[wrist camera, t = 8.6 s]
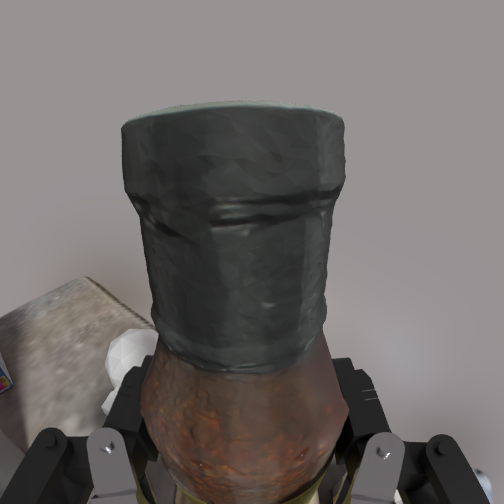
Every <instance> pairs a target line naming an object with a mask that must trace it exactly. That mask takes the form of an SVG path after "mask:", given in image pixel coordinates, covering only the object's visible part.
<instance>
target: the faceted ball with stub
mask: <svg viewBox="0 0 504 504" xmlns="http://www.w3.org/2000/svg"><path fill="white" fill-rule="evenodd" d="M157 339H158V333H157V332H155V331H154V330H151V329H128V330H127V331H126V332H124V333H123V334H122V335H120V336H119V337H117V338H116V339H115V340H113V341H112V342H111V344H110V347H109V351H108V354H107V358H106V362H105V367H106V370H107V372H108V375H109V377H110V380H111V383H112V385H113V388H115V390H114V391H113V392H112V391H111V393H110V394H109V396H108V397H107V399H106V400H105V402H104V403H103V405H102V406H101V408H102V410H103V412H104V414H106V415H107V416H108V414H109V411H110V409H111V407H112V404H113V402H114V399H115V397H116V395H117V392H118V390H119V387H121V383H122V380H123V378H124V376H125V374H126V373H127V372H128V371H129V370H130V369H131V368H132V367H133V366H138V367H141V365H142V362H143V360H144V358H145V356H146V355H154V352H155V349H156V344H157Z"/></svg>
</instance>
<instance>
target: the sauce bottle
mask: <svg viewBox="0 0 504 504" xmlns="http://www.w3.org/2000/svg"><path fill="white" fill-rule="evenodd" d="M344 128H345V127H344V122H343V120H342V118H341V117H340V116H339V115H337V114H336V113H335V112H332V111H330V110H327V109H323V108H317V107H313V106H309V105H296V104H286V103H279V102H275V101H225V102H209V103H200V104H193V105H179V106H174V107H170V108H166V109H162V110H158V111H155V112H151V113H147V114H144V115H140V116H138V117H135V118H133V119H130V120H129V121H127V122H126V123H125V124H124V125H123V126H122V128H121V134H122V170H123V179H124V188H125V192H126V193H127V195H128V197H129V199H130V201H131V202H132V204H133V206H134V208H135V209H136V211H137V213H138V215H139V217H140V225H141V234H142V240H143V246H144V254H145V259H146V265H147V272H148V276H149V284H150V288H151V292H152V298H153V304H152V308H151V317H152V320H153V322H154V324H155V327H156V330H157V332H158V339H157V344H156V349H155V352H154V355H153V357H152V360H151V363H150V365H149V368H148V371H147V374H146V376H145V379H144V382H143V384H142V390H141V400H140V406H141V408H140V413H141V415H142V416H143V418H144V421H145V424H146V427H147V431H148V433H149V435H150V437H151V439H152V441H153V442H154V444H155V446H156V448H157V449H158V451H159V453H160V454H161V456H162V460H163V463H164V465H165V467H166V469H167V471H168V473H169V474H170V476H171V477H172V478H173V480H174V481H175V483H176V484H177V486H178V487H179V488H180V490H181V491H182V492H183V494H184V495H185V496H186V497H187V499H188V500H189V501H190V503H191V504H309V503H310V501H311V499H312V498H313V496H314V494H315V493H316V491H317V489H318V487H319V485H320V483H321V481H322V479H323V477H324V475H325V473H326V471H327V469H328V467H329V465H330V463H331V461H332V459H333V456H334V452H335V449H336V442H337V440H338V438H339V436H340V434H341V431H342V428H343V426H344V422H345V421H346V419H347V416H348V413H349V408H348V406H347V404H346V401H345V400H344V398H343V395H342V392H341V389H340V386H339V382H338V379H337V376H336V372H335V369H334V365H333V362H332V359H331V355H330V352H329V349H328V346H327V342H326V339H325V337H324V334H323V326H322V325H323V323H324V322H325V320H326V314H327V305H326V299H325V296H324V292H325V286H326V279H327V260H328V253H329V245H330V233H331V227H332V215H333V210H334V205H335V202H336V200H337V199H338V197H339V195H340V192H341V189H342V187H343V185H344V181H345V178H346V176H345V156H344V139H343V137H344Z"/></svg>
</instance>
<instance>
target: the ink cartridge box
mask: <svg viewBox="0 0 504 504" xmlns="http://www.w3.org/2000/svg"><path fill="white" fill-rule="evenodd" d="M12 386H13V382H12V380H11V378H10V375H9V373H8V370H7V368H6V365H5V363H4V360H3V357H2V354H1V352H0V393H2V392H3V391H5V390H7V389H9V388H10V387H12Z"/></svg>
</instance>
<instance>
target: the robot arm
mask: <svg viewBox="0 0 504 504" xmlns="http://www.w3.org/2000/svg"><path fill="white" fill-rule="evenodd" d="M152 357H153V355H146V356H145V358H144V360H143V362H142V365H141V367H138V366H133V367H132V368H131V369H130V370H129V371H128V372H127V373H126V374H125V376H124V378H123V380H122V383H121V387H119V390H118V392H117V395H116V397H115V399H114V402H113V404H112V407H111V409H110V411H109V414H108V416H107V419H106V421H105V424H104V426H103V427H102V428H99V429H97V430H95V431H93V432H92V433H91V434H90V435H89V436H85V437H66V435H65V434H64V433H63V432H62V431H61V430H59V429H57V428H52V427H51V428H46V429H44V430H42V431H41V432H40V433H39V434H38V435H37V437H36V439H35V440H34V442H33V443H32V445H31V447H30V448H29V450H28V451H27V453H26V454H25V453H24V451H23V450H22V449H21V448H20V447H19V446H18V445H16V444H15V443H14V442H13V441H12V440H11V438H10V437H9V436H8V435H7V434H6V433H5V432H4V431H3V430H2V429H1V428H0V504H86V503H87V501H88V499H89V496H90V494H91V492H92V490H93V488H94V489H95V496H93V497H92V499H91V504H158V501H157V499H156V496H155V494H154V491H153V488H152V486H151V483H150V480H149V477H148V474H147V471H146V469H145V468H146V464H147V460H149V461H155V462H156V461H157V457H158V452H159V451H158V449H157V448H156V446H155V444H154V442H153V441H152V439H151V437H150V435H149V433H148V431H147V427H146V424H145V421H144V418H143V416H142V415H141V413H140V408H141V406H140V400H141V390H142V384H143V382H144V379H145V376H146V374H147V371H148V368H149V365H150V363H151V360H152ZM332 362H333V365H334V369H335V372H336V376H337V379H338V382H339V386H340V389H341V392H342V395H343V398H344V400H345V401H346V404H347V406H348V408H349V413H348V416H347V419H346V421H345V422H344V426H343V428H342V431H341V434H340V436H339V438H338V440H337V442H336V449H335V452H334V453H335V458H336V463H337V465H341V464H346V468H347V472H346V474H345V476H344V479H343V481H342V484H341V486H340V489H339V491H338V494H337V496H336V498H335V501H334V503H333V504H396V503H395V502H394V496H395V492H396V490H398V493H399V495H400V497H401V500H402V502H403V504H490V502H489V500H488V498H487V496H486V494H485V492H484V491H483V489H482V487H481V485H480V483H479V481H478V479H477V477H476V476H475V474H474V472H473V470H472V468H471V467H470V465H469V463H468V462H467V460H466V458H465V456H464V455H463V453H462V451H461V449H460V448H459V446H458V444H457V443H456V441H455V440H454V439H453V438H452V437H450V436H448V435H444V434H440V435H436V436H434V437H432V438H431V439H430V440H429V441H428V442H427V443H425V442H405V441H402V440H401V438H400V437H398V436H397V435H395V434H393V433H392V432H391V430H390V428H389V425H388V423H387V420H386V417H385V414H384V412H383V409H382V406H381V404H380V401H379V399H378V396H377V393H376V391H375V390H374V385H373V383H372V380H371V378H370V377H369V376H368V375H367V374H366V373H365V372H364V371H363V370H362V369H359V370H354V367H353V365H352V362H351V359H350V358H337V359H332Z"/></svg>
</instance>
